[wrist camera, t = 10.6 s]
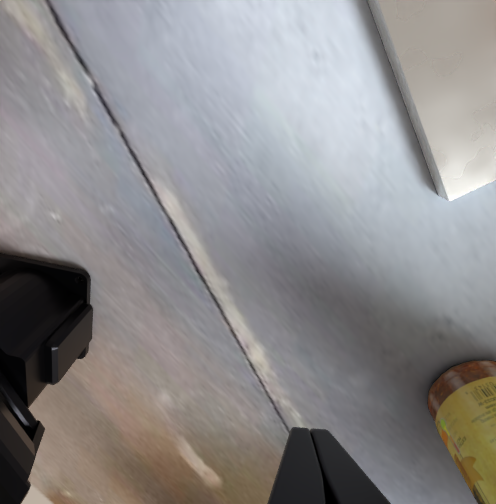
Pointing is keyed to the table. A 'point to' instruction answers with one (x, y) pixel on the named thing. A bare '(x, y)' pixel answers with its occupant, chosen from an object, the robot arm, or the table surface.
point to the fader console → (446, 84)
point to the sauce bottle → (469, 423)
